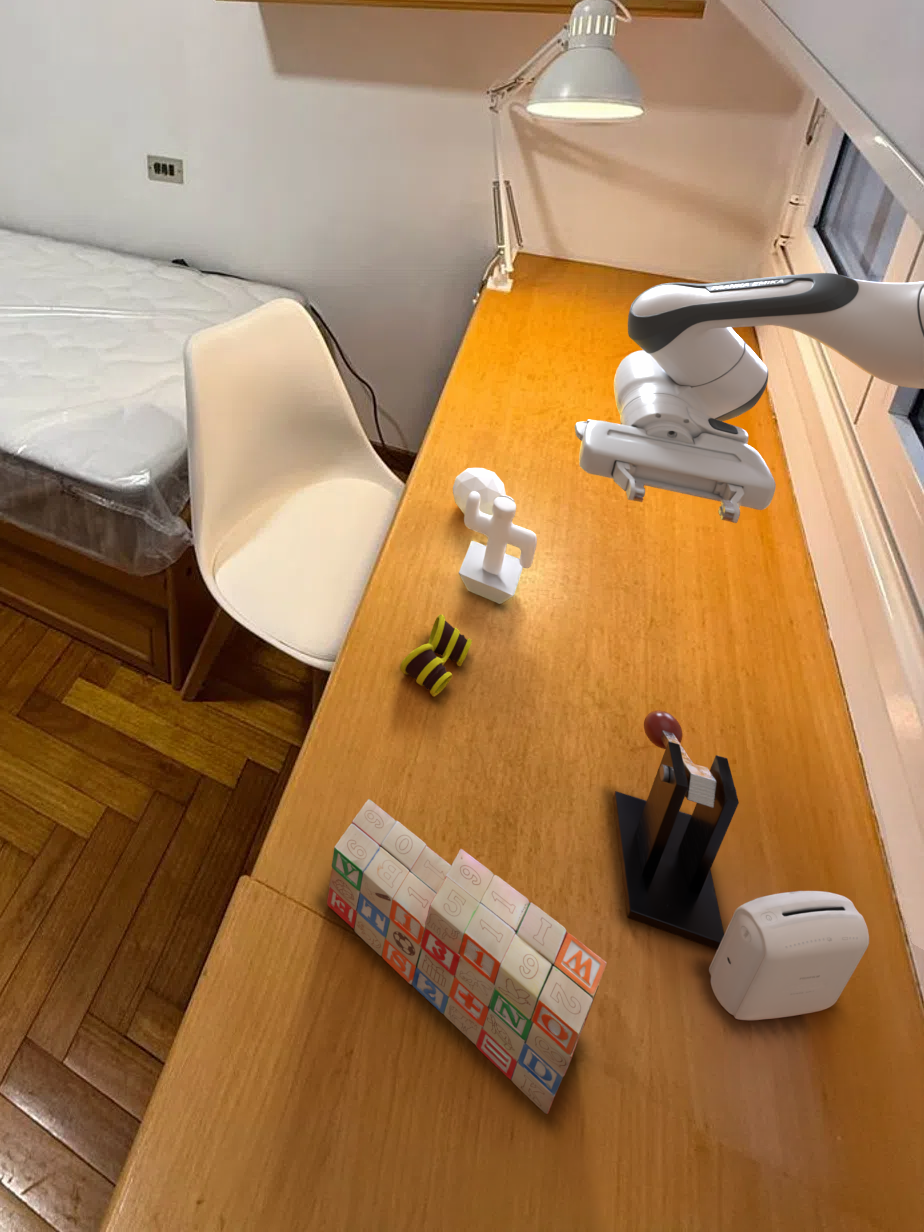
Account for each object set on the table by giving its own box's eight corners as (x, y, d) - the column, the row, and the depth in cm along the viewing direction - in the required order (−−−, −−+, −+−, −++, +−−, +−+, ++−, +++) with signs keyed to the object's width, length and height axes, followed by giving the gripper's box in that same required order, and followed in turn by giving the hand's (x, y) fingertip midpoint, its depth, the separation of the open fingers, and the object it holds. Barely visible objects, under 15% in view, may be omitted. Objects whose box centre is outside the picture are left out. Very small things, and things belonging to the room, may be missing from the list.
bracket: (612, 797, 90) (644, 701, 84) (696, 824, 87) (735, 727, 81) (627, 918, 79) (665, 818, 74) (723, 952, 77) (770, 851, 71)
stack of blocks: (324, 906, 80) (335, 824, 75) (359, 855, 84) (372, 774, 79) (549, 1118, 66) (580, 1034, 62) (577, 1044, 71) (609, 961, 66)
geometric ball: (458, 525, 131) (433, 481, 131) (496, 496, 133) (471, 453, 133) (487, 536, 124) (460, 490, 124) (526, 505, 126) (500, 460, 126)
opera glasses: (431, 708, 100) (445, 685, 97) (394, 676, 103) (406, 652, 100) (467, 658, 107) (481, 634, 104) (431, 628, 109) (443, 605, 107)
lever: (638, 734, 92) (642, 700, 92) (675, 745, 91) (679, 711, 91) (677, 804, 77) (682, 763, 78) (722, 818, 76) (726, 777, 77)
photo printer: (731, 1028, 72) (773, 945, 67) (697, 969, 76) (735, 886, 71) (840, 1015, 73) (890, 931, 68) (802, 956, 77) (846, 873, 72)
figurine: (517, 619, 111) (538, 532, 105) (446, 589, 116) (462, 504, 110) (528, 584, 117) (548, 499, 111) (460, 556, 121) (476, 473, 116)
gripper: (578, 397, 108) (588, 462, 96) (761, 432, 102) (796, 506, 90) (568, 437, 110) (577, 506, 98) (746, 474, 104) (778, 551, 92)
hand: (683, 506), depth 94 cm, fingers open, 8 cm apart
